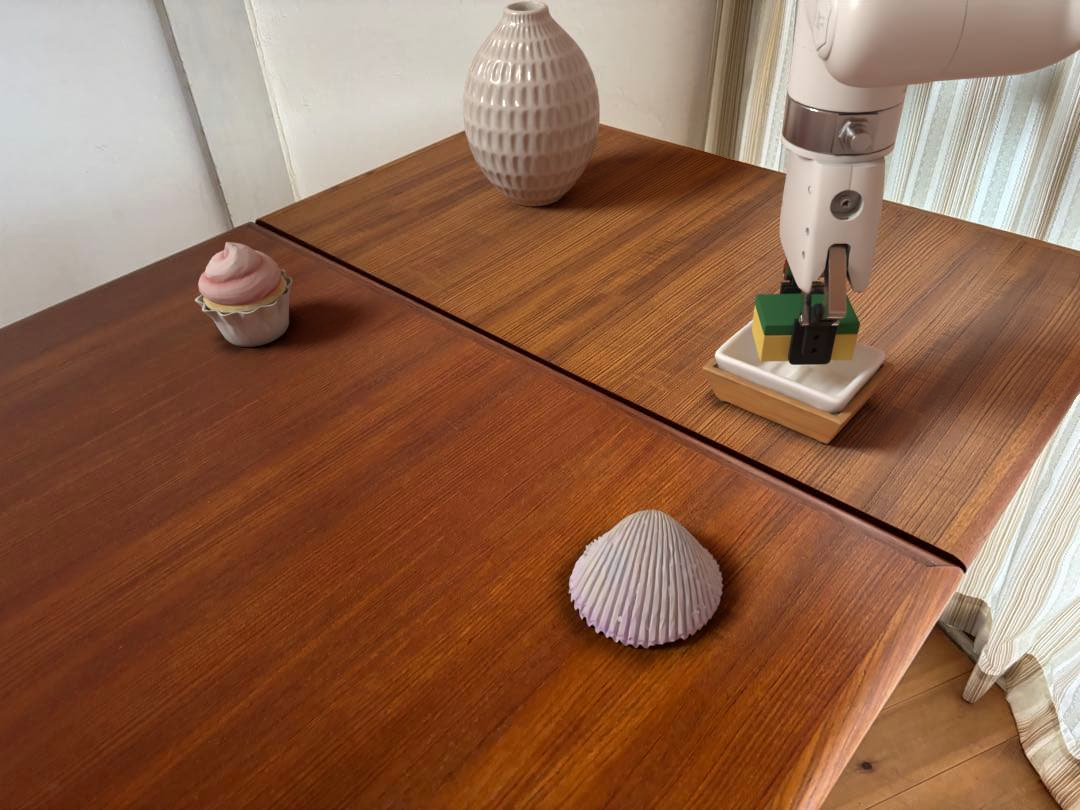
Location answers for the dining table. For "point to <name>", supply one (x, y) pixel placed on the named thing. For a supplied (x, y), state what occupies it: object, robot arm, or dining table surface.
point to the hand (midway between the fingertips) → (801, 341)
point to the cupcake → (245, 295)
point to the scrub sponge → (777, 325)
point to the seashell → (646, 581)
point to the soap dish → (796, 385)
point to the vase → (531, 107)
